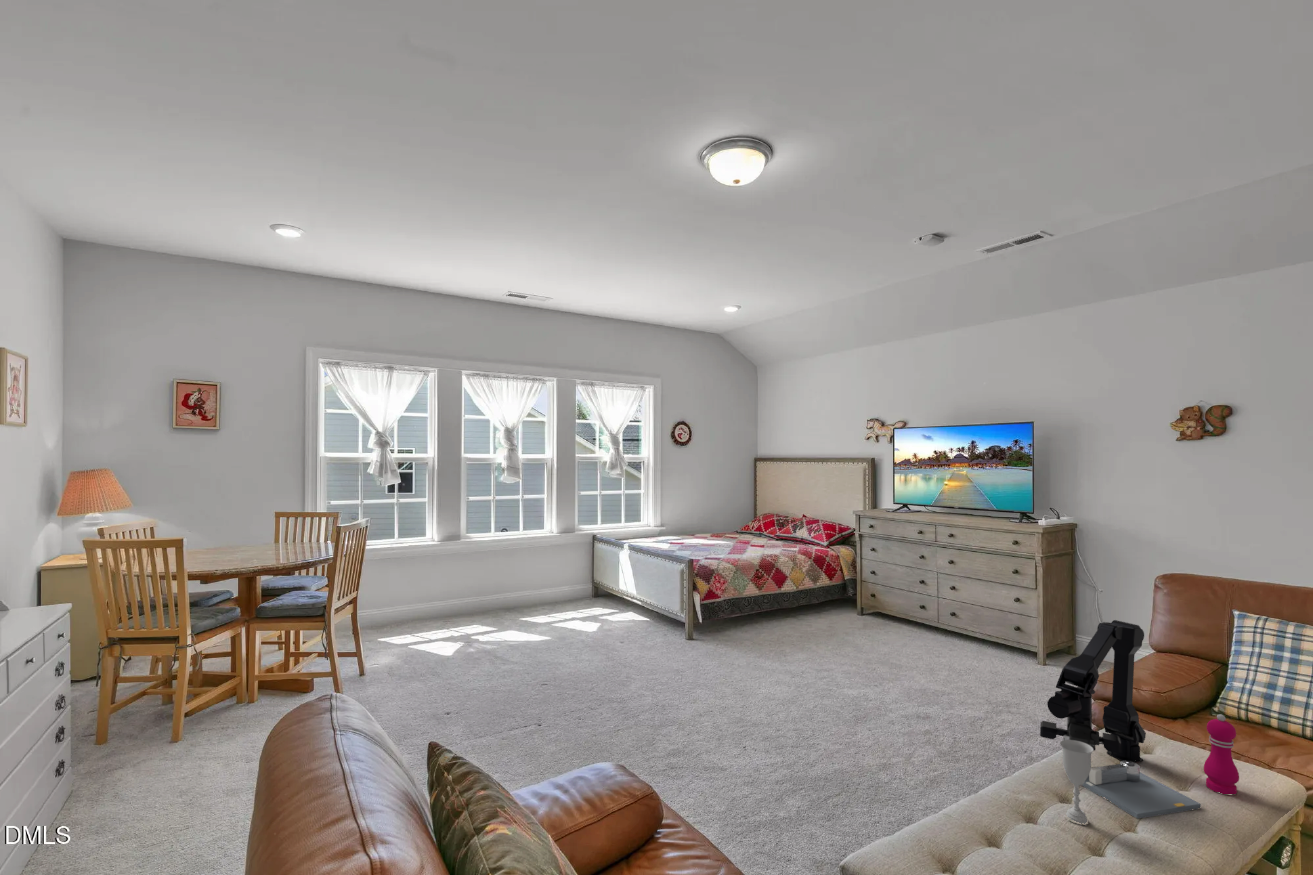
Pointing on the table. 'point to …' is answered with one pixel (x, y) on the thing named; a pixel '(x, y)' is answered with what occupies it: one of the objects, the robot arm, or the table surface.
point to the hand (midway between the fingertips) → (1079, 767)
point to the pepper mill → (1221, 757)
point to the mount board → (1143, 797)
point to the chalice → (1076, 772)
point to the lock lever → (1115, 773)
